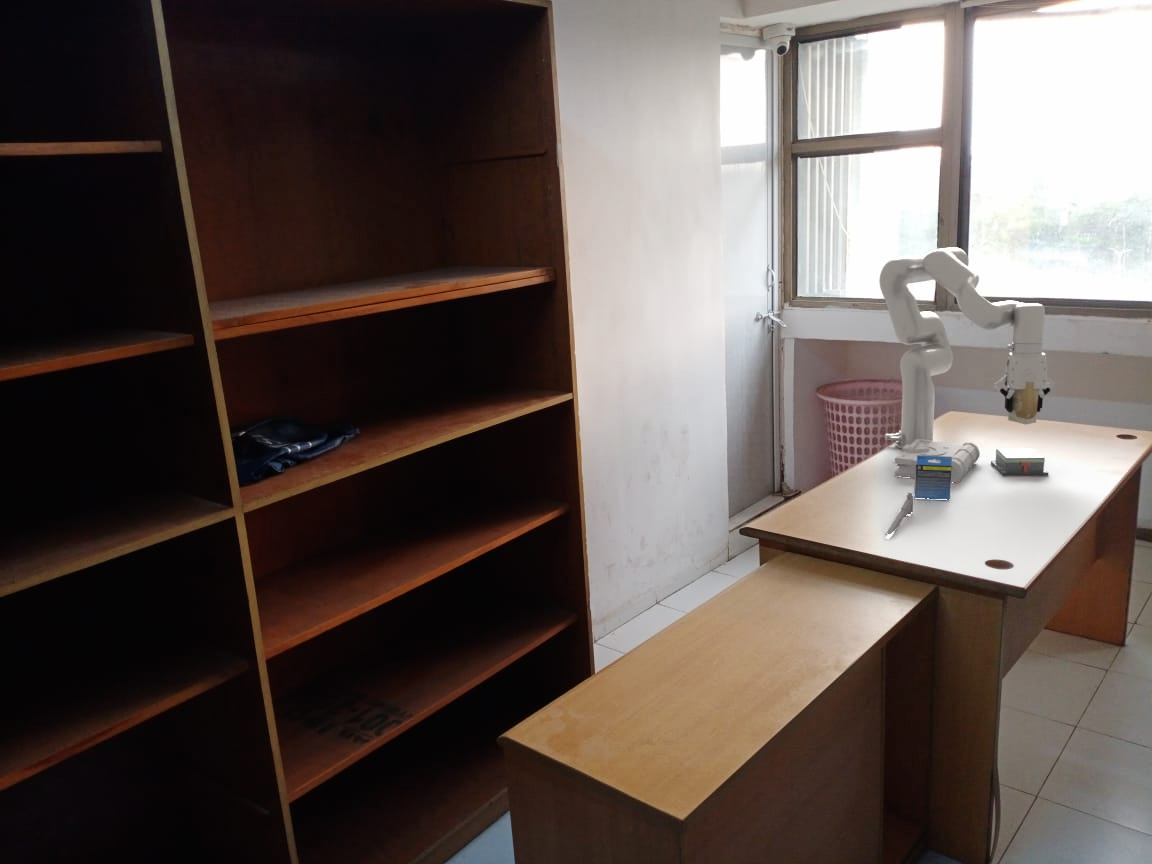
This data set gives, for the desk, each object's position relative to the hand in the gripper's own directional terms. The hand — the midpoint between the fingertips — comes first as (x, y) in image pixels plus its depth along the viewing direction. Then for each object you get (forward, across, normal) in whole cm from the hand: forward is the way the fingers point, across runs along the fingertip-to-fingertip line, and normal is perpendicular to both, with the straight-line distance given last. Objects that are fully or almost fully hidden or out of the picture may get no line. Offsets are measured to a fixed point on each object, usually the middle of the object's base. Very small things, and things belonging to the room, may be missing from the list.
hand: (1023, 410), depth 261 cm
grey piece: (+17, 0, 0) cm, 17 cm away
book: (+18, -22, +3) cm, 28 cm away
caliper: (+18, -41, -46) cm, 64 cm away
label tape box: (+18, -29, -25) cm, 42 cm away
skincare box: (+3, 0, 0) cm, 3 cm away
